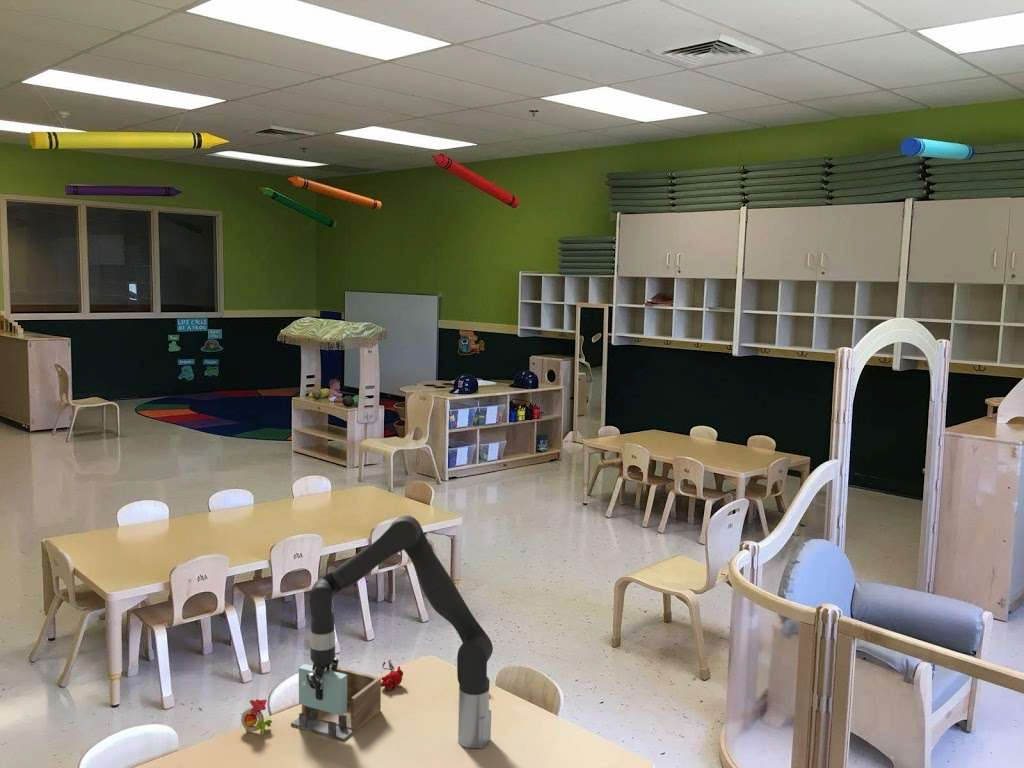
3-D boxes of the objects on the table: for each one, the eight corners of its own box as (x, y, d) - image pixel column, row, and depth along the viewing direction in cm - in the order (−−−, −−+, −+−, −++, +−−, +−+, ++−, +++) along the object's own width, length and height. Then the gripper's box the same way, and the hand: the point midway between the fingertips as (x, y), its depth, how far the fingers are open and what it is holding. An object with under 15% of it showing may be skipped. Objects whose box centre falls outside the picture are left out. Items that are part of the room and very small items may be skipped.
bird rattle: (244, 744, 262) (271, 734, 261) (230, 711, 261) (256, 702, 260) (252, 733, 269) (278, 723, 268) (237, 701, 268) (263, 692, 267)
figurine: (400, 669, 308) (407, 689, 294) (377, 676, 306) (383, 697, 292) (397, 653, 306) (403, 672, 292) (373, 660, 304) (379, 680, 290)
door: (347, 711, 266) (347, 674, 264) (339, 717, 262) (339, 680, 260) (304, 699, 272) (304, 663, 270) (296, 705, 268) (296, 669, 267)
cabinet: (380, 710, 280) (380, 678, 279) (343, 741, 261) (343, 706, 260) (329, 696, 288) (329, 665, 287) (290, 725, 270) (290, 692, 268)
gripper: (318, 655, 257) (319, 709, 259) (346, 637, 269) (346, 689, 272) (298, 650, 260) (298, 704, 262) (326, 633, 272) (326, 684, 275)
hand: (323, 696), depth 267 cm, fingers closed on door, 3 cm apart
